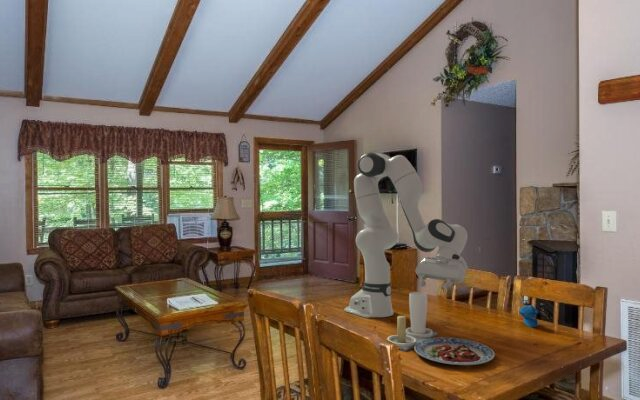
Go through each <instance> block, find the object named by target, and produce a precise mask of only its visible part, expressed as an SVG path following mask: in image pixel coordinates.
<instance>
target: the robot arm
mask: <svg viewBox="0 0 640 400" xmlns="http://www.w3.org/2000/svg"><path fill="white" fill-rule="evenodd" d="M357 169H358V171H359V172H360V173H358V174H356V176H355V177H354V180H353V190H354V191H353V192H354V196H355V202H356V206H357V210H358V214H359V217H360V218H361V219H362V220H363V221H364V223H365V224H366V226H367V227H366V228H363V229H362V230H359V232H357V234H356V237H355V245H356V247H357V248H358V250H360V252H361V255H362V258H363V263H364V281H363V282H360V283H359V284H360V285H359V286H362V287H361V289H360V290H358V292H356V293H355V294H353V295H352V296H351V297H350V300H349V305H348V306H346V307H345V308H344V309H343V310H344V312H346V313H350V314H353V315H356V316H359V317H362V318H367V319H369V318H388V317H391V316H393V315H394V314H395V313H394V310H393V309H394V308H393V306H392V305H393V304H392V299H391V298H392V297H391V295H392V294H391V293H392V283H391V265H390V263H389V262H388V260H387V257H386V254H385V250H389V249H391V248H394V246H396V245H397V243H398V241H399V234H398V231H397V229H395V228H394V227H393V225H392V224H391V223H390V220H389V219H388V216H387V214H386V213H385V210H384V206H383V201H382V197H381V193H380V189H379V182H383V181H384V180H386V179H387V178H389V179H390V181H391V183H392V184H393V186H394V188H395V190H396V193H397V194H398V197H399V201H400V205H401V208H402V211H403V214H404V216H405V218H406V220H407V222H408V225H409V227H410V229H411V233H412V236H413V237H412V238H413V243H414V245H415V247H416V248H417V249H418V250H420V251H421V252H424V253H431V252H433V251H434V250H435V249H436V248H437V247H438V250H437V252H436V254H435V255H434V257H430V256H427V257H424V258H422V259H421V261H420V262H419V263H418V265H417V266H416V267H415V270H414V271H415V273H416V275H417V277H419V278H420V279H421V280H420V283H419V285H420V286H421V287H426V285H427V282H426V281H425V280H427V279H430V280H437V281H443V282H445V283H442V284H441V285H440V289H441V290H443V291H446V290H447V289H448V287H450V286H451V285H453V284H454V283H455V284H462V282H464V280H465V278H466V275H467V270H468V267H469V266H468V263H467V262H466V260H465V259H464V257H463V256H462V255H461V254H462V252H463V251H464V249H465V246H466V244H467V241H468V232H467V230H466V228H465V227H464V226H462V225H460V224H457V223H456V224H451V223H447V222H445V221H444V220H442V219H440V218H435V219H431V220H430V221H429V222H428V223H426V224H425V221H424V219H423V217H422V215H421V213H420V209H419V202H420V201H419V200H420V197H421V195H422V193H423V192H422V191H423V183H422V180H421V178H420V176H419V174H418V172H417V171H416V169H415V168H414V166H413V165H412V163H411V162H410V161H409V160H408V158H407V157H406V156H405V155H402V154H397V155H395V156H390V155H389V154H384V153H382V152H366V153H365V154H363V155H361V156H360V157H359V159H358V162H357Z"/></svg>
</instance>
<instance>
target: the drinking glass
mask: <svg viewBox="0 0 640 400" xmlns="http://www.w3.org/2000/svg"><path fill="white" fill-rule="evenodd" d="M408 294H409V296H408V304H409V305H408V309H409V317H410V318H409V321H410V327H411V332H412V333H413V334H422V335H423V334H425V328H426V325H427V314H428V294H427V293H425V292H421V291H418V292H417V291H414V292H412V291H411V292H410V293H408Z"/></svg>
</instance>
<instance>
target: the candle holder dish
mask: <svg viewBox="0 0 640 400" xmlns="http://www.w3.org/2000/svg"><path fill="white" fill-rule="evenodd" d="M396 319H397V320H396V322H397V323H396V324H397V325H396V328H397V329H396V331H397V332H396V333H397V334H395V335H389V336H387V339H386V341H387V340H388V341H390V342H392V343H394V344H396V345H397V346H398V347H399V349H400V350H399V349H398V350H399V351H403V352H407V351H409V350H411V349H413V348H414V346H415V344H416V343H418V342H420V341H422V340H425V339H430V338H435V337H436V336H438V335H439V333H438V331H437V332H436V331H433V330H432V329H430V328H427V327H425V334H423V335H422V334H413V333H412V332H411V326H410V327H407V318H406V316H405V315H398V316H397V318H396Z"/></svg>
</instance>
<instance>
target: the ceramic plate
mask: <svg viewBox="0 0 640 400" xmlns="http://www.w3.org/2000/svg"><path fill="white" fill-rule="evenodd" d="M413 348H414V351H415V352H416V354H417V355H419V356H421V357H422V358H425V359H427V360H429V361H433V362H437V363H442V364H447V365H454V366H474V365H481V364H485V363H488V362H490V361H492V360H493V359H494V358H495V352H494V350H493V349H492V348H490V347H489V346H487V345H485V344H484V343H480V342H478V341H474V340H471V339H470V340H469V339H464V338H457V337H432V338H430V339H425V340H422V341H420V342H418V343H416V344H415V346H414V347H413Z"/></svg>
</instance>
